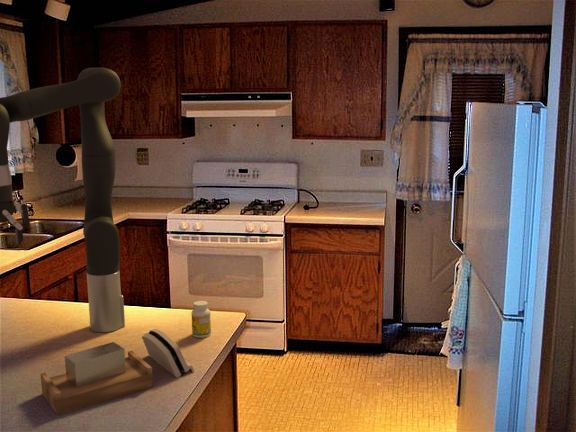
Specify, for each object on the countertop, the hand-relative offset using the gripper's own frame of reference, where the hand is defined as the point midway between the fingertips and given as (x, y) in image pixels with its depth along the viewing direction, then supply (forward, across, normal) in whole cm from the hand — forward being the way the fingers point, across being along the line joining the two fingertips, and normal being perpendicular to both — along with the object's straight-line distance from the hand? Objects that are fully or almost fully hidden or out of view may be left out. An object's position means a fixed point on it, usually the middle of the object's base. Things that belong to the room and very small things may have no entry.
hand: (0, 246), depth 156 cm
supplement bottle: (+30, -48, +16) cm, 59 cm away
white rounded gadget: (+30, -31, +28) cm, 52 cm away
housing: (+27, -12, +32) cm, 43 cm away
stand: (+30, -12, +32) cm, 46 cm away
